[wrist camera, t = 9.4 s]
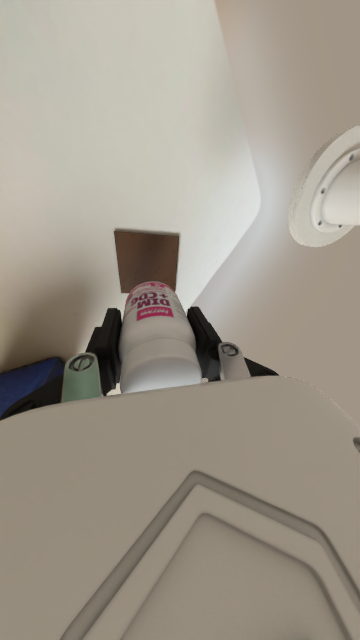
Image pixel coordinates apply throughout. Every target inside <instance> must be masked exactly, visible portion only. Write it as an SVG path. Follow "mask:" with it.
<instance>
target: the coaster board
mask: <svg viewBox="0 0 360 640" xmlns="http://www.w3.org/2000/svg"><path fill="white" fill-rule="evenodd" d="M114 235H115V244H116V252H117V260H118V269H119V277H120V285H121V293H130V292H131V291H132V290H133V289H134V288H135V287H136V286H138V285H140V284H142V283H145V282H151V281H154V282H160V283H163V284H166V285H167V286H169V287H170V288H171V289H172V290H173V291H174V292H175V281H176V268H177V254H178V241H179V236H169V235H157V234H144V233H132V232H119V231H114Z"/></svg>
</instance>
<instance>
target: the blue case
mask: <svg viewBox="0 0 360 640" xmlns="http://www.w3.org/2000/svg"><path fill="white" fill-rule="evenodd" d="M65 365H66V364H65V363H64V362H63V361H62V360H61V359H60V358H59V357H56V358H51V359H46V360H44V361H39V362H36V363H33V364H31V365H28V366H23V367H21V368H18V369H14V370H11V371H9V372H3V373H0V417H1V416H2V414H3V413H4V411H5V410H6V409H7V408H8V407H9V406H11V405H12V404H13V403H15V402H16V401H18V400H20V399H21V398H23V397H25V396H26V395H28V394H29V393H31V392H33V391H34V390H36V389H38V388H39V387H41V386H43V385H44V384H46V383H48V382H49V381H51V380H53V379H54V378H56V377H58V376H59V375H61V374H63V373H64V369H65Z"/></svg>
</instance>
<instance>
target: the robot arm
mask: <svg viewBox="0 0 360 640" xmlns="http://www.w3.org/2000/svg"><path fill="white" fill-rule="evenodd" d="M310 220H311V224H312V226H313V227H314V229H315V230H317V231H319V232H323V233H330V232H334V231H337V230H339V229H341V228H343V227H344V226H346V225H360V148H358V149H355V150H352V151H349V152H348V153H346V154H344V155H343V156H341V157H340V158H339V159H338V160H337V161H335V162H334V164H333V165H332V166H331V167H330V168H329V169H328V170H327V172H326V173H325V174H324V176H323V177H322V179H321V181H320V183H319V184H318V186H317V188H316V191H315V193H314V196H313V199H312V202H311V207H310ZM187 319H188V321H189V323H190V325H191V328H192V330H193V333H194V335H195V339H196V351H195V353H196V356H197V359H198V362H199V365H200V368H201V372H202V378H208V382H206V383H198V384H191V385H183V386H176V387H168V388H161V389H153V390H146V391H139V392H132V393H124V394H117V395H110V396H107V393H108V392H109V391H111V390H112V389H115V388H116V383H119V382H120V374H121V366H122V363H121V361H120V359H119V355H118V344H119V337H120V332H121V327H122V319H121V312H120V310H117V308H108V310H107V313H106V316H105V318H104V321H103V324H102V327H95V329H94V331H93V334H92V336H91V339H90V341H89V344H88V346H87V349H86V351H85V353H80V354H77V355H75V356H73V357H72V358H71V359H69V360H68V361H67V363H66V365H65V369H64V373H63V374H61V375H59V376H58V377H56V378H54V379H53V380H51V381H49V382H48V383H46V384H44V385H43V386H41V387H39V388H38V389H36V390H34V391H33V392H31V393H29V394H28V395H26V396H25V397H23V398H21V399H20V400H18V401H16V402H15V403H13V404H12V405H11V406H9V407H8V408H7V409H6V410H5V411H4V413H3V414H2V416H1V417H0V640H360V426H359V425H358V424H357V423H356V422H355V421H354V420H353V419H351V417H350V416H349V415H347V414H346V413H345V412H344V411H343V410H342V409H341V408H340V407H339V406H338V405H337V404H336V403H334V402H333V401H332V400H331V399H330V398H329V397H327V396H326V395H325V394H324V393H323V392H321V391H320V390H319V389H317V388H316V387H315V386H313V385H311V384H309V383H307V382H304V381H302V380H299V379H295V378H290V377H283V376H279V375H278V374H277V373H276V372H275V371H273V370H271V369H269V368H267V367H264V366H262V365H260V364H258V363H256V362H253V361H251V360H249V359H247V358H244V357H243V355H242V352H241V350H240V349H239V347H238V346H236V345H235V344H232V343H229V342H222V341H221V339H220V337H219V336H218V335H217V333H216V331H215V330H214V328H213V327H212V325H211V324H210V323H209V322H208V321H207V319H206V318H205V317H204V315H203V313H202V312H201V310H200V309H199V307H190V309H188V312H187Z"/></svg>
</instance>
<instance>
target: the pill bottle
mask: <svg viewBox="0 0 360 640" xmlns="http://www.w3.org/2000/svg"><path fill="white" fill-rule="evenodd" d="M195 351H196V339H195V335H194V333H193V330H192V328H191V325H190V323H189V321H188V319H187V317H186V314H185V312H184V310H183V308H182V305H181V303H180V301H179V299H178V297H177V295H176V293H175V292H174V291H173V290H172V289H171V288H170V287H169V286H167V285H166V284H163V283H160V282H154V281H151V282H145V283H142V284H140V285H138V286H136V287H135V288H134V289H133V290H132V291H131V292H130V293H129V295H128V297H127V300H126V305H125V310H124V316H123V321H122V327H121V332H120V337H119V344H118V355H119V359H120V361H121V363H122V367H121V378H120V390H121V393H122V394H124V393H132V392H139V391H146V390H153V389H161V388H168V387H176V386H183V385H191V384H198V383H200V382H201V379H202V372H201V368H200V365H199V362H198V359H197V356H196V353H195Z"/></svg>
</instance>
